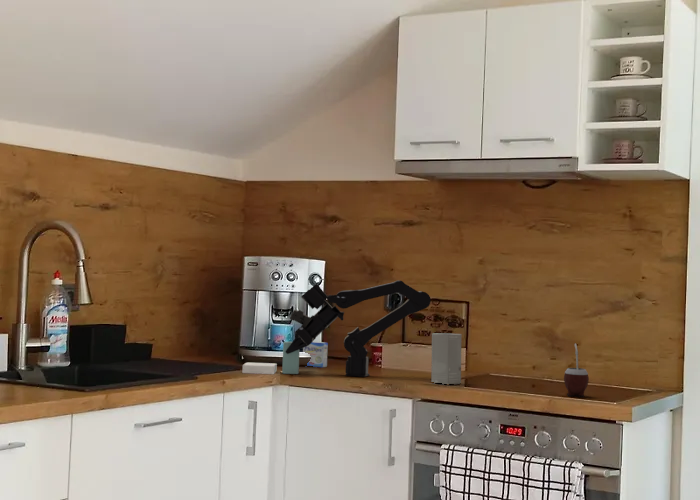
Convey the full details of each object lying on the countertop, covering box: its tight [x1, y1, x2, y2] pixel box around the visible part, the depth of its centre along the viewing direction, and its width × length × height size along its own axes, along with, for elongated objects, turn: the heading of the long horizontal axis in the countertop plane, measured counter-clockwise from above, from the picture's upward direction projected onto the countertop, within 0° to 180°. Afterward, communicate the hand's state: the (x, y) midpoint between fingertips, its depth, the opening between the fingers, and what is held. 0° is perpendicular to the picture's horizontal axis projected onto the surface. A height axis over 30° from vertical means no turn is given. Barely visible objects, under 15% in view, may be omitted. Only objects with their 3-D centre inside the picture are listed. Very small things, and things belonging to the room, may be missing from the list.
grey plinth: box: [241, 362, 278, 375], centre depth 320 cm, size 10×10×2 cm
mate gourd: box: [563, 343, 589, 399], centre depth 286 cm, size 8×8×15 cm
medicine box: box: [302, 341, 329, 368], centre depth 347 cm, size 8×4×9 cm, turn 73°
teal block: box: [281, 341, 301, 375], centre depth 319 cm, size 4×5×10 cm
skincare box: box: [431, 332, 463, 385], centre depth 306 cm, size 8×7×16 cm
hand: (287, 352), depth 320 cm, fingers closed on teal block, 4 cm apart
